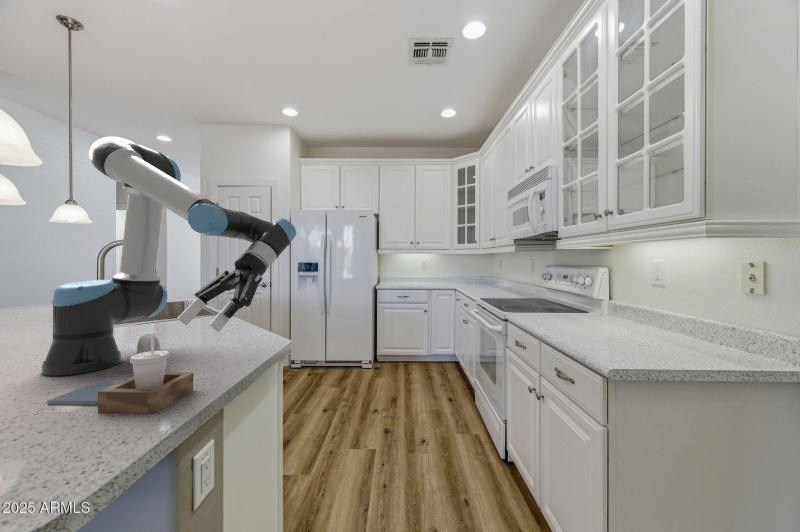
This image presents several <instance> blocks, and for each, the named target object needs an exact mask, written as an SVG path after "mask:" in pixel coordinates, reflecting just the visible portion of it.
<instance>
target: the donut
mask: <svg viewBox="0 0 800 532" xmlns="http://www.w3.org/2000/svg"><path fill="white" fill-rule="evenodd" d="M151 334H152V333H146V334H143V335H142V336H141V337H139V339H138V341H137V345H136V354H138V353H143V352H148V351H151ZM154 351H161V345H160V341H159V340H158V338H157V337H156V335H155V338H154Z"/></svg>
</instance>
